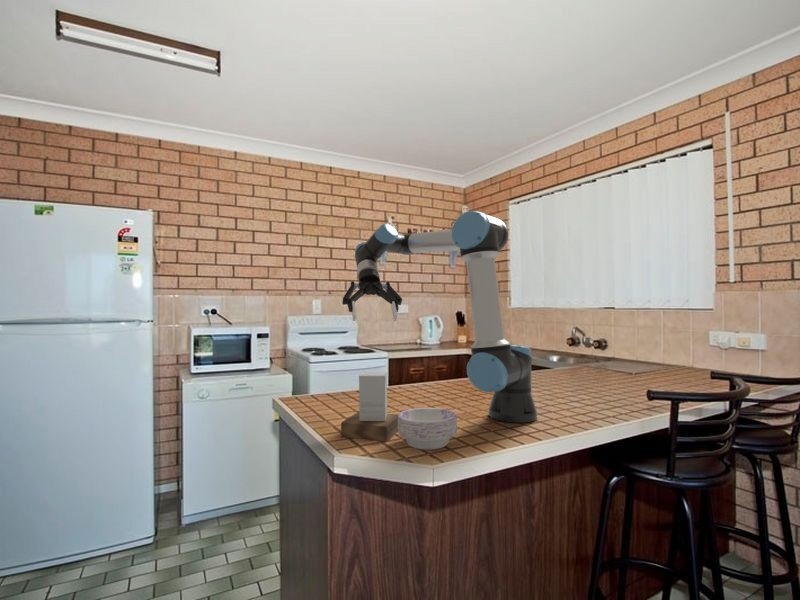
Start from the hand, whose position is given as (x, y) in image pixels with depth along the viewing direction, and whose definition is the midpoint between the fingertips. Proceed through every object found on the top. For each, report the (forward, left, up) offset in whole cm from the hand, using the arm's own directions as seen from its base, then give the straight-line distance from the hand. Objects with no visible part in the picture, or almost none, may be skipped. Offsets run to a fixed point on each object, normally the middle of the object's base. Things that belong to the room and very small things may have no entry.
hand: (375, 318), depth 139 cm
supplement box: (-6, +18, -28) cm, 34 cm away
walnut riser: (-6, +18, -32) cm, 37 cm away
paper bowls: (-23, +23, -32) cm, 45 cm away
